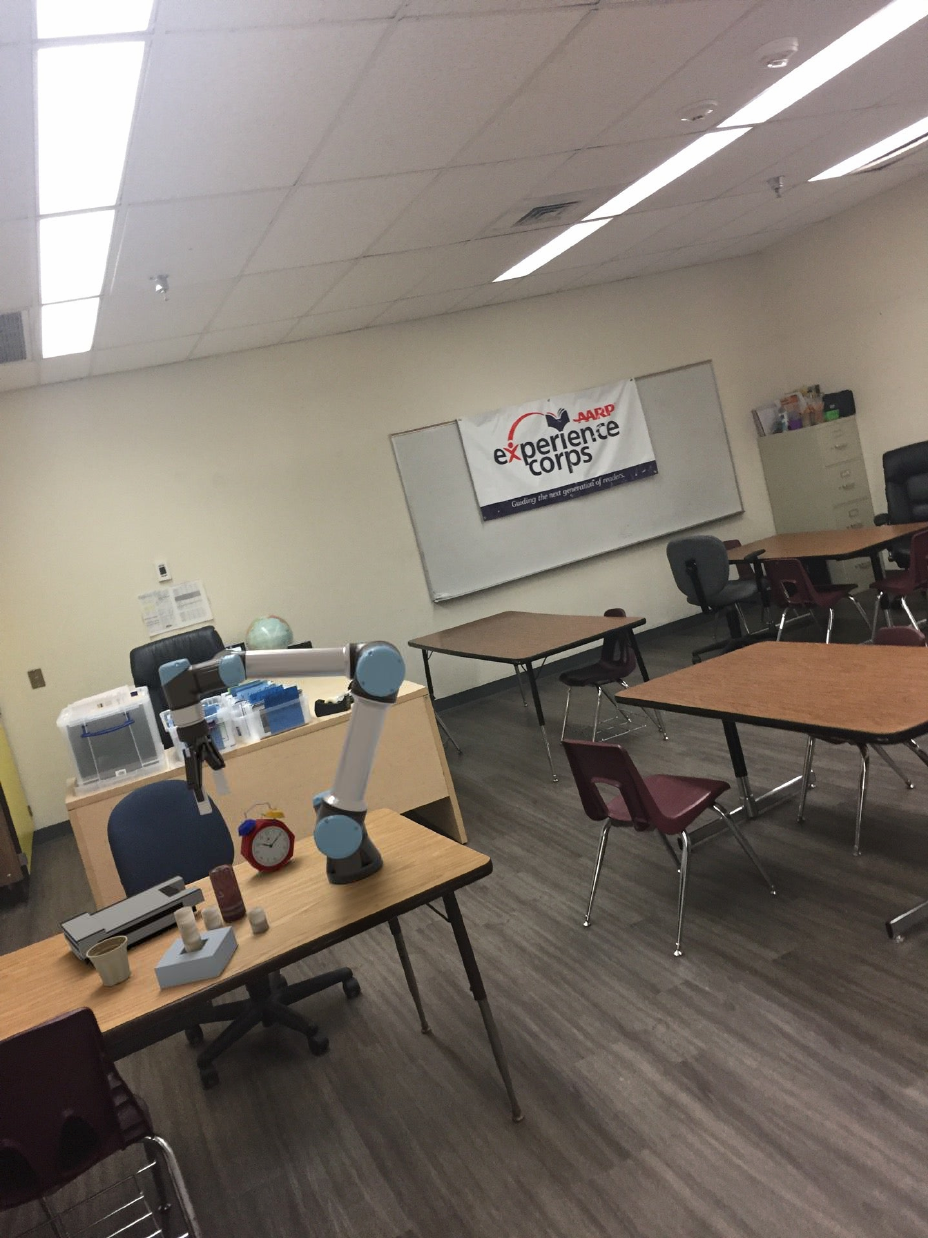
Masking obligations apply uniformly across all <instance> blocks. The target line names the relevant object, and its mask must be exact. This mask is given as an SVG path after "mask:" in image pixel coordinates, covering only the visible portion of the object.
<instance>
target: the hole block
mask: <svg viewBox="0 0 928 1238" xmlns="http://www.w3.org/2000/svg"><path fill="white" fill-rule="evenodd" d="M199 933H200V936H201V939H202V942H203V946H204V947H203V948H202V950H199V951H195V952H190V953H186V950H185V947H184V944H183V941H182V938H181V936H180V937H176V939H175V940H174V941H173V942H172V944H171V945H170V946H169V948H168V949H167V951H166V952H165V954H163V956H162V957H161V959H160V960H159V961H158V963H157V964H156V965H155V967H154V974H155V976H156V978H157V982H158V985H159V988H160V989H161V990H162V989H166V988H171V987H175V986H179V985H183V984H189V983H193V982H197V981H199V982H200V981H203V980H207V979H211V978H215V977H220V975H221V974H222V972H223V971H224V969H225V967H226V966H227V964H228V963H229V960H230V959H231V957H232V956H233V955H234V953H235V951H236V949H237V948H238V946H239V944H238V940H237V938H236V935H235V931H234V928H233V925H230V926H224V928H220V929H215V930H211V931H207V930H206V931H203V932H199Z"/></svg>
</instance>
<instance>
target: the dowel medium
mask: <svg viewBox="0 0 928 1238" xmlns="http://www.w3.org/2000/svg"><path fill="white" fill-rule="evenodd" d="M200 915H201V917H202V920H203V923H204V927H205V931H206V932H207V931H211V930H215V929H220V928H224V927H225V926H224V924H223V919H222V916H221V913H220V909H219V906H218V904H217V905H216V904H213V905H208V906H206V907H204V908H202V909H201V911H200Z"/></svg>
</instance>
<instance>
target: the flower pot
mask: <svg viewBox="0 0 928 1238" xmlns="http://www.w3.org/2000/svg"><path fill="white" fill-rule="evenodd" d="M126 947H127V937H126V936H117V937H113V938H110V939H107V940H104V941H102V942H100V943H98V944H96V945H95V946H93V947H92V948H91V949H90V950H89V951H88V952H87V953H86V956H87V957H88V958H89V959H90V961H91V963H92V962H93V963H92V964H93V965H94V967H95V970H96V972H97V973H98V976H99V977H100V979H101V981H102V984H103V985H104V986H105V987H112V986H116V985H117V984H118V983H122V982H124V981H126V980H128V978H129V977H130V976H131V973H132V971H131V967H130V961H129V955H128V951H127V948H126Z"/></svg>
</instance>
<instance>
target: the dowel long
mask: <svg viewBox="0 0 928 1238" xmlns="http://www.w3.org/2000/svg"><path fill="white" fill-rule="evenodd" d="M174 916H175V919H176V922H177V925H178V926H177V928H178V931H179V934H180V937H181V938H182V941H183V944H184V947H185V950H186V953H190V952H195V951H199V950H202V948H203V947H204V946H203V942H202V939H201V936H200V933H201V932H200V930H199V927H198V923H197V921H196V918H195V915H194V913H193V911H192V908H191V907H190V906H188V907H183V908H181V909H179V910H177V911H176V912H175V913H174Z"/></svg>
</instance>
